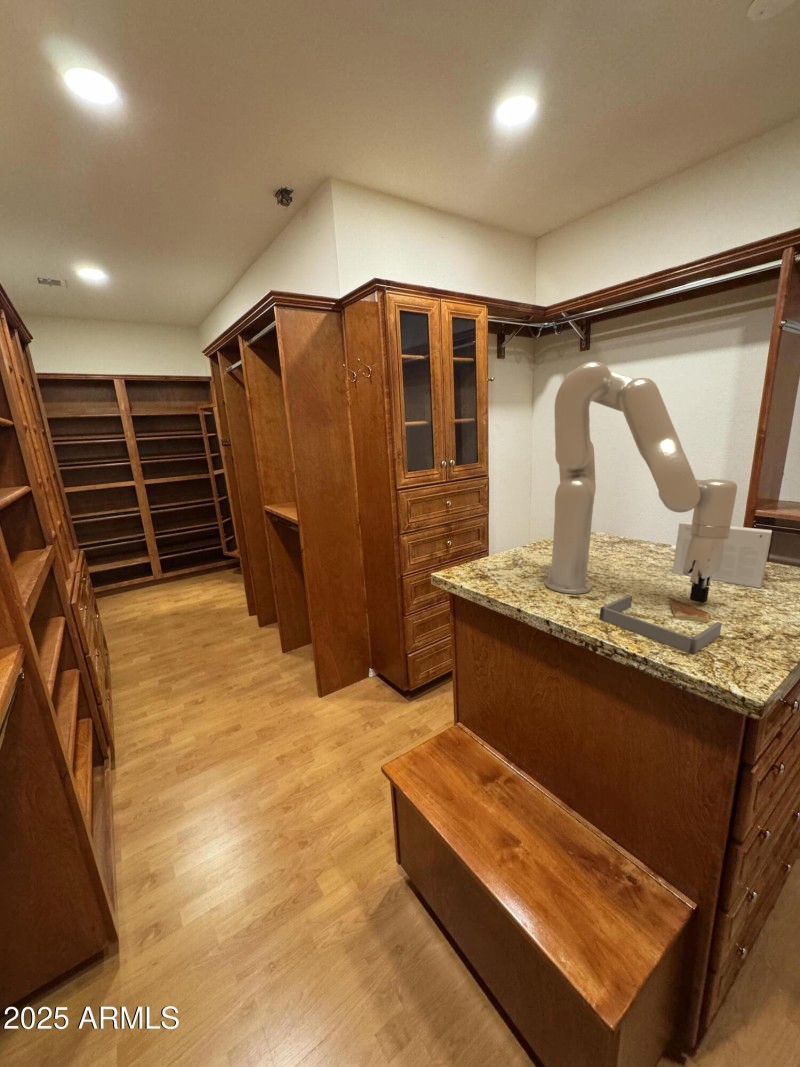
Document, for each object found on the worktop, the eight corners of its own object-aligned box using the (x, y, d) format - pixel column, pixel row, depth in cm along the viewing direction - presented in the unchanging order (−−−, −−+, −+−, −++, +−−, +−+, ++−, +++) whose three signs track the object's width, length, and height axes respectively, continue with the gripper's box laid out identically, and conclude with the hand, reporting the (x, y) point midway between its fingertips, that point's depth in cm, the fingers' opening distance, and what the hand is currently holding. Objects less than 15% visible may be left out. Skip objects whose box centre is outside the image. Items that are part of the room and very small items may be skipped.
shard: (668, 603, 106) (669, 596, 105) (704, 608, 102) (705, 601, 102) (673, 620, 97) (674, 613, 96) (712, 626, 93) (714, 619, 93)
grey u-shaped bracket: (599, 619, 97) (600, 607, 96) (627, 605, 104) (629, 594, 103) (693, 654, 81) (695, 640, 80) (719, 635, 88) (721, 623, 87)
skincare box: (762, 583, 116) (773, 529, 112) (761, 589, 112) (772, 533, 109) (674, 568, 130) (682, 520, 126) (671, 573, 126) (678, 523, 123)
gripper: (704, 523, 106) (693, 589, 111) (678, 532, 98) (668, 603, 103) (740, 529, 100) (727, 598, 105) (715, 538, 92) (702, 613, 97)
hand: (698, 600), depth 104 cm, fingers closed
